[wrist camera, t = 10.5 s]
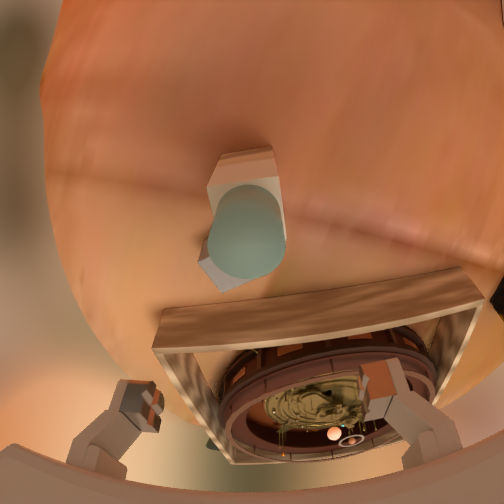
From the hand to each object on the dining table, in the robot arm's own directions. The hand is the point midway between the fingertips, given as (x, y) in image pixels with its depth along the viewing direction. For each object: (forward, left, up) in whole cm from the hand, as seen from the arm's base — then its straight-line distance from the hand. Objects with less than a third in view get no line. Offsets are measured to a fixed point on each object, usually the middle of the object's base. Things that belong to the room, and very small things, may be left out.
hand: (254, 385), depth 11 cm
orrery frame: (+42, +6, -26) cm, 50 cm away
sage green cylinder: (0, -1, -15) cm, 15 cm away
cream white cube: (0, -1, -21) cm, 21 cm away
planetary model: (+43, +7, -27) cm, 51 cm away
